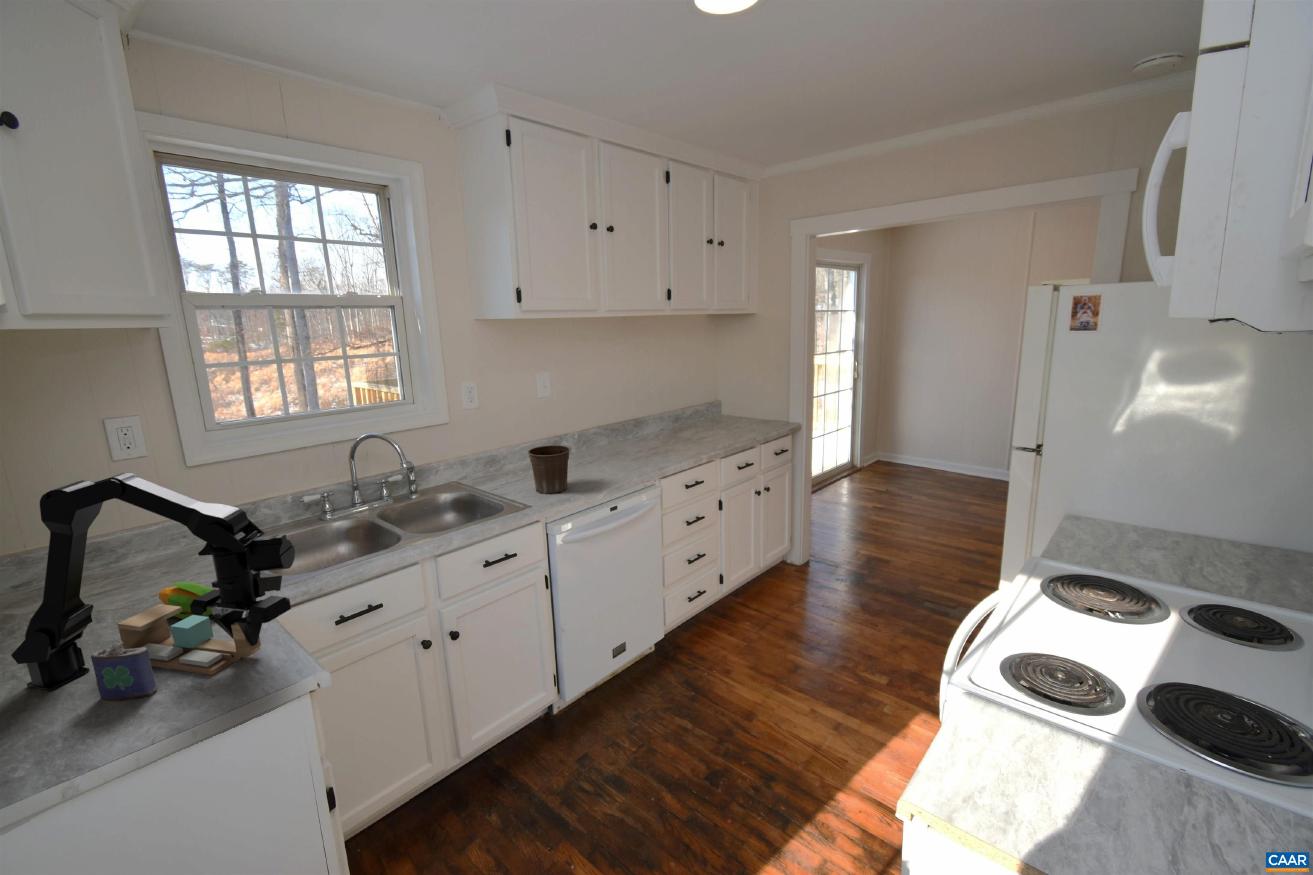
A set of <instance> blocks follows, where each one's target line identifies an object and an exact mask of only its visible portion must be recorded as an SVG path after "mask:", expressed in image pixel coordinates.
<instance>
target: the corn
mask: <svg viewBox="0 0 1313 875" xmlns="http://www.w3.org/2000/svg"><path fill="white" fill-rule="evenodd" d="M212 590H213V589H212V588H209V587H207V586H204V585H202V584H201V585H200V584H199V583H196V582H188V581H187V582H186V581H183V582H182V581H181V582H173V583H172V586H171V587H166V588H163V589H162V590H160V591H159V592H158V599H159V600H160V601H161V602H162V603H163V605H171V606H179V607H182V612H180V613H178V614H176V615H174V616H173V617H176V618H178V619H181V620H184V619H186V618H188V617H190V616H192V615H193V614H191V609H190V605H191V603H192V601H193V599H196V598H198V597H200V596H202V595H204V594H206V593H208V592H210V591H212ZM210 607H211V606H208V607H207V612H206V613H205V614H204V615H202V616H205V617H210V616H212V615H213V614H212V610H211V609H210ZM197 616H201V615H197Z"/></svg>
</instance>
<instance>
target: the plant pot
mask: <svg viewBox="0 0 1313 875" xmlns="http://www.w3.org/2000/svg"><path fill="white" fill-rule="evenodd" d="M570 451H571V448H570V447H569V446H565V445H552V444H551V445H540V446H536V447H534V448H530V449H529V450H527V454H528V455H529V460H530V463H531V466H532V468H531V469H532V474H533V478H534V486H535V491H536V492H538V494H543V493H547V494H546V495H549V494H548V493H555V494H557V493H558V492H559V493H562V491H563V492H564V490H565V489H566V490H567V489H568V470H569V469H568V468H569V465H568V464H569V459H570ZM566 490H565V491H566Z"/></svg>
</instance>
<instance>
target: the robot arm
mask: <svg viewBox="0 0 1313 875" xmlns="http://www.w3.org/2000/svg"><path fill="white" fill-rule="evenodd" d="M113 499H116V500H119V501H121V502H124V503H127V504H129V505H131V506H134V507H137V508H140V509H142V510H145V511H147V512H151V513H153V514H155V515H157V516H158V515H159V516H160V517H163V518H165V519H168V520H172V522H173V521H174V522H176V523H178V524H181V525H183V526H185V527H186V528H187V529H188V530H189V531H190V533H191V534H192V535H193V536H194V537H196V538H198V539H200V540H202V541H203V542H206V543H205V544H204V547H203V548H202V549H201V550H200V551H199V552H197V555H198V556H200V557H201V556H211V558H212V562H213V569H214V572H215V573H214V574H215V578H216V580H214V581H211V587H212V588H214V589H212V591H210V592H208V593H206V594H204V595H202V596H200V597H198V598H196V599H193V601H192V603H191V605H190V609H191V614H193V615H201V616H202V615H204V614H205V613H206V612H207V607H208V606H211V607H210V609H211V610H212V614H213V615H209V616H208V617H209V619H210V621H212V622H214V623H216V625H217V626H218V627H220V628H221V629H222V630H223V631H224V632H225V633H227V634H228V636H229V637H230V638H232V640H234V637H233V632H232V627H231V625H232V624H234V623H235V622H237V623H238V625H239V627H240V628H241V630H242V632H243V634H244V635H245V637H246V639H247V641H248V642H249V643H250V645H251V646H254V645H256V644H257V643H258V639H259V637H260V634H261V629H262V626H263V624H266V623H270V622H271V621H273V620H275V619H277V618H278V617H280V616H282V615H283V614H285V613H287V612H288V611H290V610H291V609H292V606H291V600H290V598H288V597H286V596H279V595H270V596H268V597H266V598H264V599H259V600H257V599H258V598H262V597H264V596H266V592H273V591H276V592H279V591H281V588H282V583H283V582H282V581H283V575H282V574H276V573H261V572H265V571H266V572H267V571H275V570H277V571H278V570H289V569H290V568H291V567H292V566H293V564H294V561H295V556H296V551H295V550H296V549H295V546H294V545H293V543H292V542H291V540H289V539H287V534H285V533H281V534H277V535H271V536H265V532H264V530H262V529H260V528H259V527H258V525H256V524H255V522H253V521H252V520H251V519H250V518H248V515H247V513H246V511H245V510H243V509H242V508H238V507H236V506H233V505H227V504H223V503H222V504H221V503H215V502H214V503H213V502H212V503H211V502H204V501H199V500H197V499H194V498H192V497H189V496H186V495H185V494H181V493H179V492H176V491H174V490H171V489H169V488H166V487H163V486H161V485H160V484H159V485H158V484H156V483H154V482H151V481H148V480H145V479H144V478H141V477H139V475H138V474H135V473H132V472H122V473H119V474H117V475H113V476H111V477H107V478H103V479H101V480H100V479H99V480H98V481H93V482H92V481H89V480H79V481H74V482H72V483H69V484H66V485H63V486H61V487H57V488H53V489H52V490H49V491H47V492H45V493H44V494H42V495H41V497H40V499H39V513H40V520H41V522H42V523H43V524H44V526H45V527H46V528H47V529H48V531H49V533H50V534H49V542H48V549H47V550H48V551H47V557H46V558H47V559H46V567H45V575H44V576H45V577H44V586H43V587H44V588H43V594H42V601H41V603H40V605H39V606H38V608H37V609H36V610H35V612H34V614H32V617H31V618H30V619H29V621H28V623H27V624H28V625H27V627H26V630H25V633H24V640H23V641H22V642H21V644H20V645H19V646H17V648H16V649H15V650H14V651H13V652H12V654H11V656H10V657H12V659H13V660H14V661H15V662H16V664H18V665H24V664H26V667H27V670H28V673H29V677H30V681H29V682H27V683H26V687H28V688H32V689H33V688H34V689H40V690H45V691H53V690H55V689H57V688H59V687H61V686H63V685H64V684H66V683H69V682H70V681H74V680H75V679H76V678H79V677H81V676H82V675H85V674H87V673H88V672H89V671H91V669H90V668H89V667H85V666H86V660H85V658H84V653H83V650H82V647H81V646H78V643H77V641H78V640H81V639H82V638H83V635H84V631H85V630H86V629H87V627H88V625H90V624H92V622H93V621H94V620H93V618H92V617H93V616H92V613H93V610H94V605H93V603H91V604H89V603H88V604H87V603H85V602H84V601H83V599H82V598H81V597H80V596H81V588H82V587H81V586H82V580H83V572H84V571H83V570H84V565H85V563H84V562H85V557H86V556H85V555H86V548H87V542H88V540H87V539H88V533H89V532H88V531H89V528H90V527H91V526H92V524H93V523H94V521H95V520H96V519H97V518H98V516H99V515H100V512H101V510H102V507H103V505H104V502H107V501H110V500H113ZM242 534H244V535H243V536H241V537H240V538H237V537H239V536H240V535H242Z"/></svg>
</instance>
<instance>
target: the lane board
mask: <svg viewBox="0 0 1313 875" xmlns="http://www.w3.org/2000/svg"><path fill="white" fill-rule="evenodd" d="M178 613H180V614H181V613H182V607H179V606H171V605H166V604H161V603H160V604H157V605H155V606H153V607H150V608H148V609H145V610H144V611H142V612H139V613H137V614H135V615H133V616H131V617H129V618H126V619H124V620H122V621H120V622H118V623H117V628H118V632H119V636H120V641H121V642H123V643H124V644H123V645H122V647H123V648H122V650H123V649H134V648H140V647H142V646H144V645H146V644H148V643H151V644H158V645H165V646H172V647H177V646H173V645H172V643H173V642H174V640H173V636H171V632H170V628H169V624H168V620H167V619H169V618H171V617H175V616H174V615H176V614H178ZM179 648H183V653H181V654H180V655H178V656H176V657H174V658H172V659H171V660H169V661H165V660H159V659H152V658H150V663H151V667H156V668H163V669H169V670H170V669H171V670H175V671H176V670H177V671H184V672H189V673H195V674H201V675H202V674H203V675H208V676H214V675H216V674H217V673H218V672H221V671H222V670H224V669H225V668H227V667H228V666H230V665H231V664H233V663H235V662H236V661H238V660H240V659H241V658H242V657H237V656H232V655H231V654H227V653H222V659H220V660H218V661H217V662H215V663H213V664H212V665H210V666H208V667H206V666H199V665H192V664H185V663H180V661H179V658H180V657H182V656H184V655H185V654H187V653H189V652H191V651H192V650H198V649H191V648H184V647H179ZM200 651H205V650H200ZM208 652H213V651H208ZM215 653H220V652H215Z"/></svg>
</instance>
